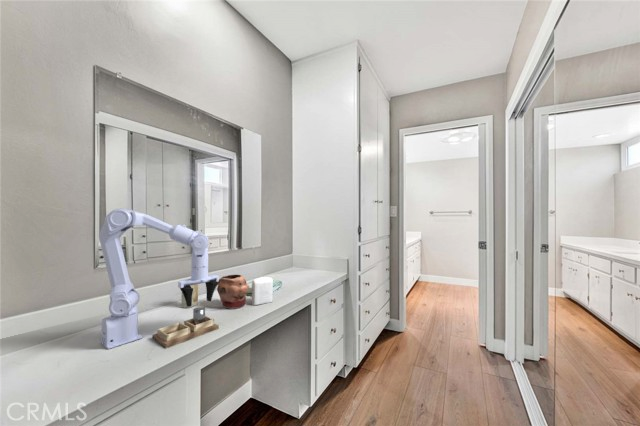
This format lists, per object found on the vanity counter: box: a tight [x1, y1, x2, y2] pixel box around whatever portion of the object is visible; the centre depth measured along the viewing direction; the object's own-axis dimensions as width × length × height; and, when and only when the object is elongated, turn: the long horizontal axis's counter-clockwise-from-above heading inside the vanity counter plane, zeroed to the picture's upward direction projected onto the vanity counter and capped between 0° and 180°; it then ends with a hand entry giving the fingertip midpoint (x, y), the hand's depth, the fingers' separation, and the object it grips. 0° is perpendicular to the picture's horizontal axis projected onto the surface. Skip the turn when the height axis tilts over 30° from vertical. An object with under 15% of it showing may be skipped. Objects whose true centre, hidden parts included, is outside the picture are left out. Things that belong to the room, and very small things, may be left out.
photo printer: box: [251, 276, 274, 306], centre depth 125 cm, size 10×4×12 cm, turn 126°
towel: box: [245, 279, 283, 297], centre depth 145 cm, size 18×21×5 cm
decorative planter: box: [216, 274, 249, 309], centre depth 121 cm, size 20×12×14 cm, turn 62°
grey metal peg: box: [192, 306, 206, 325], centre depth 96 cm, size 4×4×6 cm
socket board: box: [151, 315, 220, 349], centre depth 92 cm, size 18×11×3 cm, turn 143°
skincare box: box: [180, 277, 199, 309], centre depth 121 cm, size 6×4×12 cm
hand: (199, 303), depth 96 cm, fingers open, 7 cm apart
